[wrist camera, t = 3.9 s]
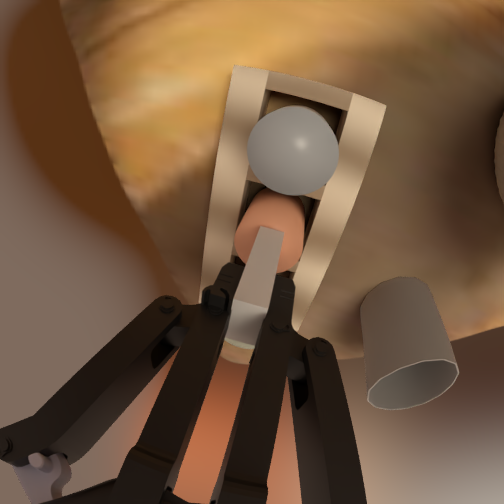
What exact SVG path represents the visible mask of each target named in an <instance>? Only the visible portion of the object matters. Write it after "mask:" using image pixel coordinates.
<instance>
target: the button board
mask: <svg viewBox="0 0 504 504" xmlns="http://www.w3.org/2000/svg"><path fill="white" fill-rule="evenodd" d="M271 90H273V91H277V92H282V93H286V94H290V95H294V96H298V97H302V98H306V99H310V100H313V101H317V102H320V103H324V104H327V105H330V106H334V107H337V108H340V109H343V110H342V114H341V118H340V121H339V125H338V128H337V132H336V135H335V137H336V139H337V142H338V148H339V159H338V164H337V167H336V170H335V172H334V174H333V176H332V177H331V178H330V180H329V181H328V182H327V183H326V184H325V185H324V186H322V187H321V188H319V189H318V190H316V191H314V192H311V193H308V194H305V196H308V197H312V198H315V199H316V200H315V203H314V206H313V209H312V212H311V215H310V218H309V221H308V224H307V227H306V230H305V233H304V240H303V251H302V255H301V257H300V259H299V260H298V262H297V263H296V264H295V265H294V266H293V267H291V268H290V269H288V271H291V273H290V276H289V279H293V281H294V284H295V286H296V289H295V297H294V306H293V314H292V326H293V328H294V330H296V331H298V329H299V327H300V325H301V323H302V321H303V319H304V317H305V315H306V313H307V311H308V309H309V307H310V305H311V303H312V301H313V298H314V296H315V294H316V292H317V290H318V288H319V286H320V283H321V281H322V279H323V277H324V275H325V272H326V270H327V268H328V266H329V263H330V261H331V259H332V256H333V254H334V252H335V249H336V247H337V245H338V242H339V240H340V237H341V235H342V233H343V230H344V228H345V225H346V223H347V220H348V218H349V215H350V213H351V210H352V207H353V205H354V202H355V200H356V197H357V194H358V192H359V189H360V186H361V183H362V181H363V178H364V175H365V172H366V169H367V166H368V164H369V161H370V158H371V155H372V152H373V149H374V146H375V143H376V139H377V136H378V133H379V130H380V127H381V123H382V120H383V117H384V113H385V110H386V105H384V104H381V103H379V102H376V101H374V100H371V99H368V98H366V97H363V96H360V95H357V94H355V93H352V92H349V91H346V90H343V89H340V88H336V87H333V86H330V85H327V84H323V83H320V82H316V81H312V80H309V79H305V78H301V77H297V76H293V75H288V74H284V73H279V72H274V71H269V70H264V69H258V68H252V67H246V66H239V65H234V67H233V72H232V77H231V82H230V87H229V92H228V97H227V102H226V107H225V113H224V118H223V124H222V129H221V135H220V141H219V147H218V153H217V159H216V166H215V172H214V179H213V186H212V193H211V200H210V207H209V214H208V222H207V230H206V238H205V246H204V255H203V264H202V274H201V283H200V294H199V303H201V298H202V291H203V289H204V288H205V287H207V286H209V285H213V284H214V282H215V280H216V279H217V276H218V274H219V272H220V270H221V268H222V266H224V265H225V264H227V263H228V262H230V263H233V264H234V262H235V257H236V256H238V254H237V252H236V249H235V245H234V237H235V233H236V231H237V228H238V226H239V225H240V223H241V221H242V219H243V217H244V213H245V208H246V203H247V199H248V194H249V189H250V184H251V181H253V182H257V183H261V184H263V183H262V182H261V181H260V180H259V179H258V178H257V177H256V176H255V174H254V172H253V171H252V169H251V167H250V164H249V161H248V156H247V144H248V139H249V136H250V133H251V131H252V129H253V128H254V126H255V125H256V124H257V123H258V121H259V120H261V119H262V118H263V117H264V116H265V115H266V111H267V106H268V102H269V98H270V93H271ZM238 257H239V256H238Z"/></svg>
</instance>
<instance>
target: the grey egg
mask: <svg viewBox="0 0 504 504" xmlns="http://www.w3.org/2000/svg"><path fill="white" fill-rule="evenodd" d="M247 156H248V161H249V164H250V167H251V169H252V171H253V172H254V174H255V176H256V177H257V178H258V179H259V180H260V181H261V182H262V183H263V184H264V185H265V186H267V187H268V188H270V189H271V190H273V191H276V192H278V193H281V194H285V195H305V194H308V193H311V192H314V191H316V190H318V189H319V188H321V187H322V186H324V185H325V184H326V183H327V182H328V181H329V180H330V178H331V177H332V176H333V174H334V172H335V170H336V167H337V164H338V159H339V148H338V142H337V139H336V137H335V135H334V132H333V131H332V129H331V128H330V126H329V125H328V123H327V122H326V120H325V119H324V118H323V117H322V115H321V114H319V113H318V112H317V111H315V110H314V109H312V108H310V107H307V106H303V105H289V106H285V107H282V108H280V109H277V110H275V111H273V112H271V113H269V114H267V115H266V116H264V117H263V118H262V119H261V120H259V121H258V123H257V124H256V125H255V126H254V128H253V129H252V131H251V133H250V136H249V139H248V144H247Z"/></svg>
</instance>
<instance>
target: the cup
mask: <svg viewBox="0 0 504 504" xmlns="http://www.w3.org/2000/svg"><path fill="white" fill-rule="evenodd" d="M360 318H361V327H362V336H363V346H364V357H365V369H366V386H367V401H368V402H369V403H371V404H372V405H373V406H374V407H376V408H381V409H386V410H397V409H407V408H411V407H414V406H418V405H421V404H424V403H426V402H428V401H430V400H432V399H434V398H436V397H438V396H440V395H441V394H442V393H444V392H445V391H446V390H447V389H448V388H449V387H450V386H452V385H453V384H454V382H455V380H456V378H457V376H458V374H459V370H458V367H457V363H456V360H455V357H454V353H453V350H452V347H451V344H450V341H449V338H448V335H447V332H446V330H445V327H444V324H443V321H442V319H441V316H440V314H439V311H438V308H437V306H436V303H435V301H434V299H433V296H432V294H431V292H430V289H429V287H428V285H427V284H426V283H424V282H423V281H421V280H419V279H417V278H416V277H396V278H394V279H391V280H388V281H385V282H382V283H380V284H379V285H378V286H377V287H375V288H374V289H373V290H372V291H370V292H369V293H368V294H367V295H366V297H365V299H364V301H363V303H362V304H361V306H360Z"/></svg>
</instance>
